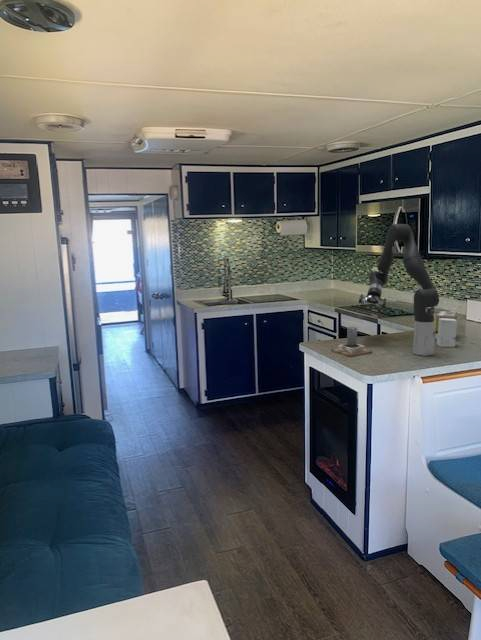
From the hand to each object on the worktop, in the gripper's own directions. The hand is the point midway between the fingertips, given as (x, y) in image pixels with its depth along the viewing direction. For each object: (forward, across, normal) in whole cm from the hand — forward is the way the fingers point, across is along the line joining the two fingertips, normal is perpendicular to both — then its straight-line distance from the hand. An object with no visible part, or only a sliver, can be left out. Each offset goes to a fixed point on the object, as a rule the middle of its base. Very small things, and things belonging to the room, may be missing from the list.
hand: (370, 308), depth 255 cm
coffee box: (-34, +34, +34) cm, 59 cm away
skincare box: (-7, +43, +20) cm, 48 cm away
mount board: (+20, -5, +16) cm, 26 cm away
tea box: (-26, +44, +28) cm, 58 cm away
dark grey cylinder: (+20, -5, +15) cm, 25 cm away
